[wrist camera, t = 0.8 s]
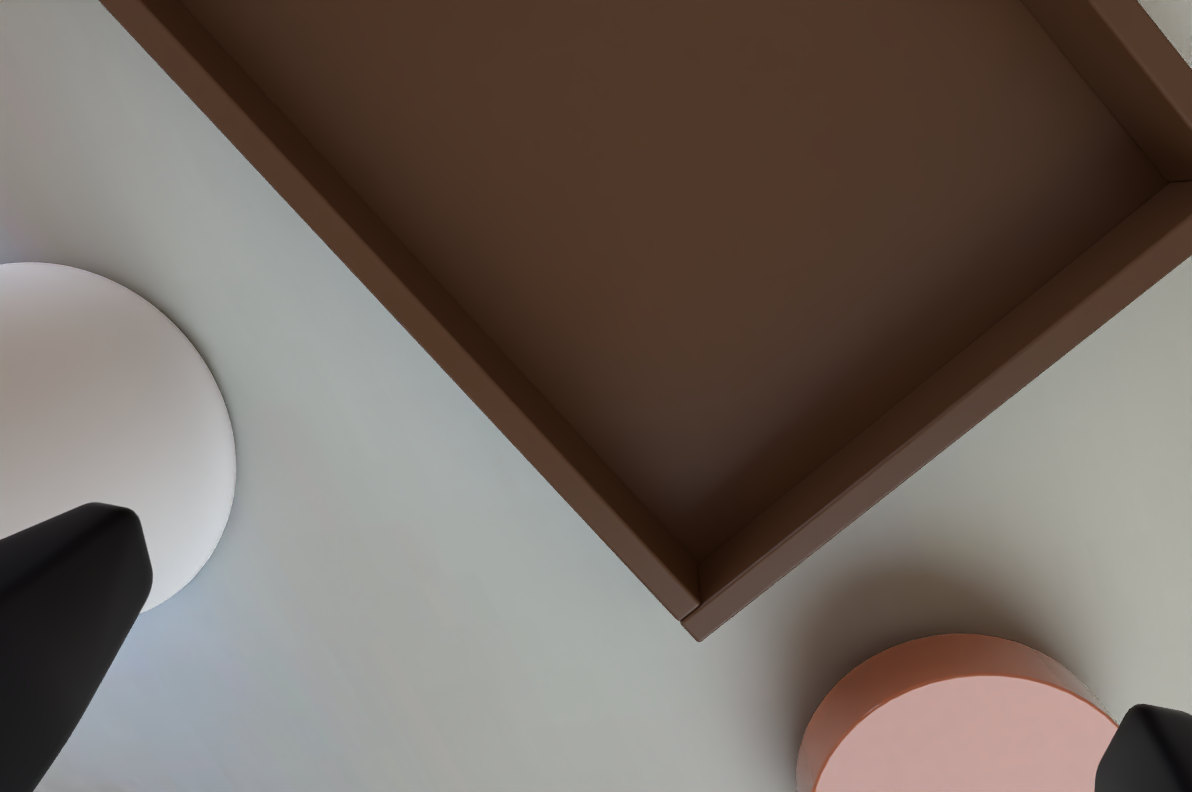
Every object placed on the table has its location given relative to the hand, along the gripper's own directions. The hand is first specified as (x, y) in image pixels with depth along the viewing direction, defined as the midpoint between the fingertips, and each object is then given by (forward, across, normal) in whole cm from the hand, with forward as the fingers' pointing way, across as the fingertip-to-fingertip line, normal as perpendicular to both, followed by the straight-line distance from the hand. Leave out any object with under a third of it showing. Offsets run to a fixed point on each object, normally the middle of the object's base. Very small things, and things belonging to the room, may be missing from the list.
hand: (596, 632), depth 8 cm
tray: (+14, +3, -2) cm, 14 cm away
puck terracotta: (+9, -7, +12) cm, 17 cm away
